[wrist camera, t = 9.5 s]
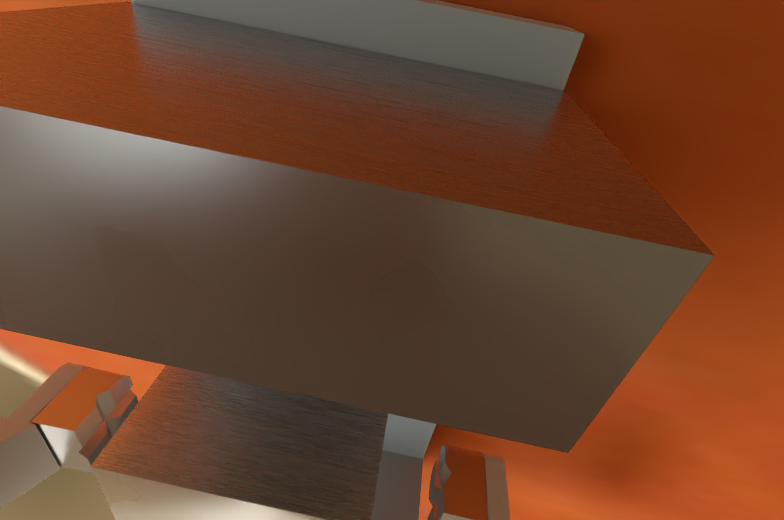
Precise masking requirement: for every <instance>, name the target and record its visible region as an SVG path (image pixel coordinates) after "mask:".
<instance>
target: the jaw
mask: <svg viewBox="0 0 784 520" xmlns="http://www.w3.org/2000/svg"><path fill="white" fill-rule="evenodd" d="M714 256H715V255H714V254H713V253H712V252H711V251H710V250H709V248H708V247H707V246H706V245H705V244H704V243H703V242H702V241H701V240H700V239H699V238H698V236H697V235H696V234H695V233H694V232H693V231H692V230H691V229H690V228H689V227H688V225H687V224H686V223H685V222H684V221H683V220H682V219H681V218H680V217H679V216H678V214H677V213H676V212H675V211H674V210H673V209H672V208H671V207H670V206H669V205H668V203H667V202H666V201H665V200H664V199H663V198H662V197H661V196H660V195H659V194H658V192H657V191H656V190H655V189H654V188H653V187H652V186H651V185H650V184H649V183H648V181H647V180H646V179H645V178H644V177H643V176H642V175H641V174H640V173H639V172H638V170H637V169H636V168H635V167H634V166H633V165H632V164H631V163H630V162H629V161H628V159H627V158H626V157H625V156H624V155H623V154H622V153H621V152H620V151H619V150H618V149H617V147H616V146H615V145H614V144H613V143H612V142H611V141H610V140H609V139H608V138H607V136H606V135H605V134H604V133H603V132H602V131H601V130H600V129H599V128H598V127H597V125H596V124H595V123H594V122H593V121H592V120H591V119H590V118H589V117H588V116H587V114H586V113H585V112H584V111H583V110H582V109H581V108H580V107H579V106H578V105H577V103H576V102H575V101H574V100H573V99H572V98H571V97H570V96H569V95H568V94H567V92H566V91H564V90H559V89H554V88H550V87H545V86H540V85H535V84H530V83H525V82H520V81H515V80H510V79H505V78H500V77H495V76H491V75H486V74H481V73H476V72H471V71H466V70H461V69H456V68H451V67H446V66H441V65H437V64H432V63H427V62H422V61H417V60H412V59H407V58H402V57H397V56H392V55H387V54H382V53H378V52H373V51H368V50H363V49H358V48H353V47H348V46H343V45H338V44H333V43H328V42H324V41H319V40H314V39H309V38H304V37H299V36H294V35H289V34H284V33H279V32H274V31H269V30H265V29H260V28H255V27H250V26H245V25H240V24H235V23H230V22H225V21H220V20H215V19H211V18H206V17H201V16H196V15H191V14H186V13H181V12H176V11H171V10H166V9H161V8H156V7H152V6H147V5H142V4H137V3H132V2H120V3H107V4H95V5H83V6H70V7H58V8H45V9H33V10H20V11H8V12H0V329H4V330H8V331H13V332H17V333H22V334H26V335H31V336H36V337H40V338H45V339H49V340H54V341H58V342H63V343H68V344H72V345H77V346H81V347H86V348H91V349H95V350H100V351H104V352H109V353H113V354H118V355H123V356H127V357H132V358H136V359H141V360H145V361H150V362H155V363H159V364H164V365H168V366H173V367H177V368H182V369H187V370H191V371H196V372H200V373H205V374H210V375H214V376H219V377H223V378H228V379H232V380H237V381H242V382H246V383H251V384H255V385H260V386H264V387H269V388H274V389H278V390H283V391H287V392H292V393H296V394H301V395H306V396H310V397H315V398H319V399H324V400H329V401H333V402H338V403H342V404H347V405H351V406H356V407H361V408H365V409H370V410H374V411H379V412H383V413H388V414H393V415H397V416H402V417H406V418H411V419H415V420H420V421H425V422H429V423H434V424H438V425H443V426H448V427H452V428H457V429H461V430H466V431H470V432H475V433H480V434H484V435H489V436H493V437H498V438H502V439H507V440H512V441H516V442H521V443H525V444H530V445H534V446H539V447H544V448H548V449H553V450H557V451H562V452H567V453H569V451H570V450H571V449H572V447H573V446H574V445H575V443H576V442H577V441H578V439H579V438H580V437H581V435H582V434H583V433H584V431H585V430H586V428H587V427H588V426H589V424H590V423H591V422H592V420H593V419H594V418H595V416H596V415H597V414H598V412H599V411H600V410H601V408H602V407H603V406H604V404H605V403H606V402H607V400H608V399H609V398H610V396H611V395H612V393H613V392H614V391H615V389H616V388H617V387H618V385H619V384H620V383H621V381H622V380H623V379H624V377H625V376H626V375H627V373H628V372H629V371H630V369H631V368H632V367H633V365H634V364H635V363H636V361H637V360H638V358H639V357H640V356H641V354H642V353H643V352H644V350H645V349H646V348H647V346H648V345H649V344H650V342H651V341H652V340H653V338H654V337H655V336H656V334H657V333H658V332H659V330H660V329H661V328H662V326H663V325H664V323H665V322H666V321H667V319H668V318H669V317H670V315H671V314H672V313H673V311H674V310H675V309H676V307H677V306H678V305H679V303H680V302H681V301H682V299H683V298H684V297H685V295H686V294H687V293H688V291H689V290H690V289H691V287H692V286H693V284H694V283H695V282H696V280H697V279H698V278H699V276H700V275H701V274H702V272H703V271H704V270H705V268H706V267H707V266H708V264H709V263H710V262H711V260H712V259H713V258H714Z"/></svg>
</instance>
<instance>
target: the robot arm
mask: <svg viewBox="0 0 784 520" xmlns="http://www.w3.org/2000/svg"><path fill="white" fill-rule="evenodd" d="M132 385H133V384H132V381H131V378H130V376H126V375H121V374H117V373H112V372H108V371H103V370H98V369H94V368H91V367H87V366H82V365H77V364H72V363H67V364H65V365H63V366H61V367H60V368H58V369H57V370H56V371H55V372H54V373H53V374H52V375H51V376H50V377H49V378H48V379H47V380H46V381H45V382H44V383H43V384H42V385H41V386H40V387H39V388H38V389H37V390H36V391H35V392H34V393H33V394H32V395H31V396H30V397H29V398H28V399H27V400H26V401H25V402H24V403H23V404H22V405H20V406H19V408H17V409H16V410H15V411H14V412H13V413H12V414H11V415H10V416H9V417H8V418H6V417H0V509H1V508H3V507H4V506H6V505H7V504H9V503H10V502H12V501H13V500H15V499H16V498H18V497H19V496H21V495H22V494H24V493H25V492H27V491H28V490H30V489H31V488H33V487H34V486H36V485H37V484H39V483H40V482H41V481H43V480H45V479H46V478H48V477H49V476H51V475H52V474H54V473H55V472H57V471H58V470H59V469H60V467H64V468H69V469H74V470H80V471H86V472H90V473H93V472H92V470H91V468H90V466H91V465H92V463H93V462H94V461H95V459H96V458H97V457H98V455H99V454H100V453H101V451H102V450H103V449H104V447H105V446H106V445H107V443H108V442H109V441H110V439H111V438H112V437H113V435H114V434H115V433H116V432H117V430H118V429H119V428H120V426H121V425H122V424H123V422H124V421H125V420H126V418H127V417H128V416H129V414H130V413H131V412H132V410H133V409H134V408H135V406H136V405H137V404H138V400H137V396H136V395H135V394H134V393H133V392H132V391H131V390H130V388H131V386H132ZM429 500H430V502H431V504H432V506H433V507H432V509H431V512H430V514H429V516H428V520H510V510H509V500H508V490H507V479H506V469H505V462H504V460H503V458H502V457H500V456H495V455H491V454H486V453H482V452H478V451H473V450H468V449H463V448H458V447H453V446H448V445H443V446H442V447H441V450H440V455H439V460H437V461H436V462H435V464H434V467H433V471H432V475H431V481H430V490H429Z"/></svg>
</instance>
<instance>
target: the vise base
mask: <svg viewBox="0 0 784 520" xmlns="http://www.w3.org/2000/svg"><path fill="white" fill-rule="evenodd" d="M131 1H132V3H137V4H142V5H147V6H152V7H156V8H161V9H166V10H171V11H176V12H181V13H186V14H191V15H196V16H201V17H206V18H211V19H215V20H220V21H225V22H230V23H235V24H240V25H245V26H250V27H255V28H260V29H265V30H269V31H274V32H279V33H284V34H289V35H294V36H299V37H304V38H309V39H314V40H319V41H324V42H328V43H333V44H338V45H343V46H348V47H353V48H358V49H363V50H368V51H373V52H378V53H382V54H387V55H392V56H397V57H402V58H407V59H412V60H417V61H422V62H427V63H432V64H437V65H441V66H446V67H451V68H456V69H461V70H466V71H471V72H476V73H481V74H486V75H491V76H495V77H500V78H505V79H510V80H515V81H520V82H525V83H530V84H535V85H540V86H545V87H550V88H554V89H559V90H564V88H565V85H566V82H567V80H568V77H569V75H570V72H571V69H572V67H573V64H574V61H575V59H576V56H577V54H578V51H579V48H580V46H581V43H582V40H583V38H584V35H585V34H583V33H581V32H579V31H577V30H575V29H573V28H570V27H568V26H564V25H559V24H554V23H549V22H544V21H539V20H534V19H529V18H524V17H519V16H514V15H509V14H504V13H499V12H494V11H489V10H484V9H479V8H474V7H469V6H464V5H459V4H454V3H449V2H445V1H440V0H131ZM435 426H436V424H434V423H429V422H425V421H420V420H415V419H411V418H406V417H402V416H397V415H393V414H388V417H387V423H386V430H385V436H384V442H383V448H382V454H381V460H380V466H379V472H378V479H377V485H376V491H375V497H374V503H373V509H372V515H371V520H418V517H419V504H420V491H421V478H422V465H423V458H424V455H425V452H426V450H427V447H428V444H429V442H430V439H431V437H432V434H433V431H434V429H435Z"/></svg>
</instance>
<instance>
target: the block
mask: <svg viewBox="0 0 784 520" xmlns="http://www.w3.org/2000/svg"><path fill="white" fill-rule="evenodd" d="M387 417H388V413H383V412H379V411H374V410H370V409H365V408H361V407H356V406H351V405H347V404H342V403H338V402H333V401H329V400H324V399H319V398H315V397H310V396H306V395H301V394H296V393H292V392H287V391H283V390H278V389H274V388H269V387H264V386H260V385H255V384H251V383H246V382H242V381H237V380H232V379H228V378H223V377H219V376H214V375H210V374H205V373H200V372H196V371H191V370H187V369H182V368H177V367H173V366H168V365H166V366H165V368H164V369H163V370H162V372H161V373H160V374H159V376H158V377H157V378H156V380H155V381H154V382H153V384H152V385H151V386H150V388H149V389H148V390H147V392H146V393H145V394H144V396H143V397H142V398H141V400H140V401H139V402H138V404H137V405H136V406H135V408H134V409H133V410H132V412H131V413H130V414H129V416H128V417H127V418H126V420H125V421H124V422H123V424H122V425H121V426H120V428H119V429H118V430H117V432H116V433H115V434H114V435H113V437H112V438H111V439H110V441H109V442H108V443H107V445H106V446H105V447H104V449H103V450H102V451H101V453H100V454H99V455H98V457H97V458H96V459H95V461H94V462H93V463H92V465H91V466H90V468H91V470H92V472H93V474H94V476H95V478H96V480H97V482H98V484H99V486H100V488H101V490H102V492H103V495H104V497H105V499H106V501H107V503H108V505H109V507H110V509H111V511H112V513H113V515H114V517H115V519H116V520H371V515H372V509H373V503H374V497H375V491H376V485H377V479H378V472H379V466H380V460H381V454H382V448H383V442H384V436H385V430H386V423H387Z"/></svg>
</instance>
